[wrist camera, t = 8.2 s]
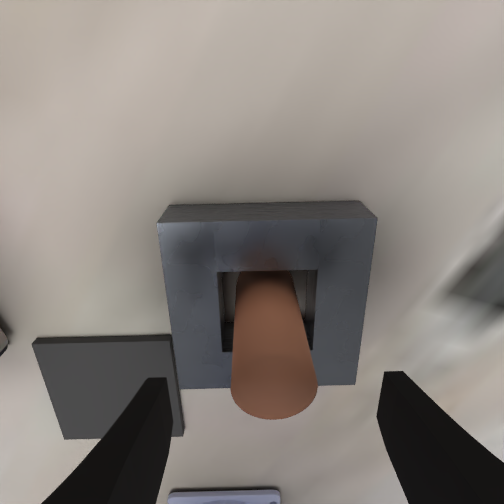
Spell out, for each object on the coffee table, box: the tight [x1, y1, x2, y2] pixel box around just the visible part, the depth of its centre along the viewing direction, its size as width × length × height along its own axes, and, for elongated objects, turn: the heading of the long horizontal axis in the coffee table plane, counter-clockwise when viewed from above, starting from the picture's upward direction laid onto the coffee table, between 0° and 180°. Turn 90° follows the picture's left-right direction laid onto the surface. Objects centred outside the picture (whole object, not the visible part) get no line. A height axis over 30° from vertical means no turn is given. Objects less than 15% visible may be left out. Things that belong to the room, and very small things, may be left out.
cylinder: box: [231, 270, 318, 420], centre depth 15 cm, size 3×3×7 cm
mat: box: [32, 335, 184, 440], centre depth 21 cm, size 8×8×1 cm
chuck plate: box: [157, 201, 377, 389], centre depth 17 cm, size 9×9×2 cm
